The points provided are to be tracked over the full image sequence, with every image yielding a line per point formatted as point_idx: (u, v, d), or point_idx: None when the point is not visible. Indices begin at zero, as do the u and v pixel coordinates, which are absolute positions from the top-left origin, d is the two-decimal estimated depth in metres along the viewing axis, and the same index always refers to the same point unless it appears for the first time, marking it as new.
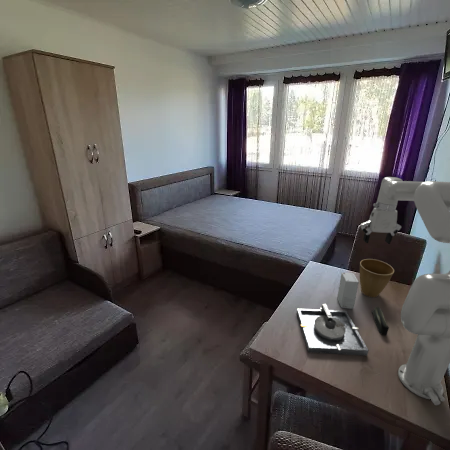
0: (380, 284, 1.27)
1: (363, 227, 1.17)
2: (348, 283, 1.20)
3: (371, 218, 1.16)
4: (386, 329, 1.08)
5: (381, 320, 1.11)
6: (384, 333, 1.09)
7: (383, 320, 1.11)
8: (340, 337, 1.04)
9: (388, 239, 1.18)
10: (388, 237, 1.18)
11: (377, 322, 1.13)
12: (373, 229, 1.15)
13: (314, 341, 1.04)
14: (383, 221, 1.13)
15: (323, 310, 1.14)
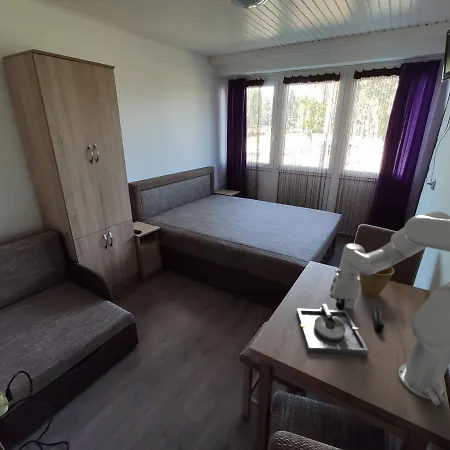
0: (380, 284, 1.27)
1: (333, 297, 1.12)
2: None
3: (333, 284, 1.10)
4: (381, 327, 1.09)
5: (377, 318, 1.12)
6: (379, 331, 1.10)
7: (379, 318, 1.12)
8: (340, 337, 1.04)
9: None
10: None
11: (374, 320, 1.14)
12: (335, 296, 1.09)
13: (314, 341, 1.04)
14: (345, 288, 1.08)
15: (323, 310, 1.14)
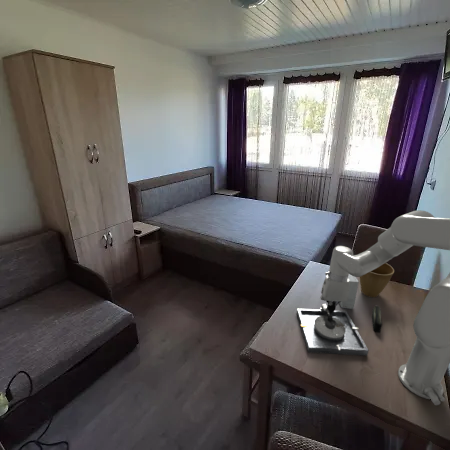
0: (380, 284, 1.27)
1: (324, 299, 1.13)
2: None
3: (323, 286, 1.11)
4: (379, 326, 1.09)
5: (376, 317, 1.12)
6: (377, 330, 1.10)
7: (378, 318, 1.12)
8: (340, 337, 1.04)
9: None
10: None
11: (373, 319, 1.15)
12: (325, 298, 1.11)
13: (314, 341, 1.04)
14: (335, 291, 1.09)
15: (323, 310, 1.14)
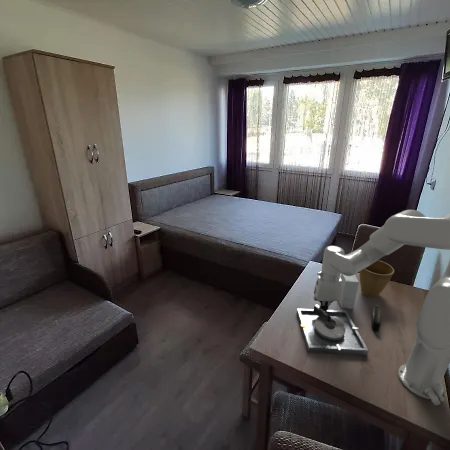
0: (380, 284, 1.27)
1: (317, 299, 1.13)
2: (348, 283, 1.20)
3: (316, 286, 1.11)
4: (377, 325, 1.10)
5: (375, 317, 1.13)
6: (375, 329, 1.11)
7: (377, 317, 1.13)
8: (344, 334, 1.05)
9: None
10: None
11: (372, 319, 1.15)
12: (318, 298, 1.11)
13: (314, 341, 1.04)
14: (328, 291, 1.09)
15: (318, 311, 1.14)
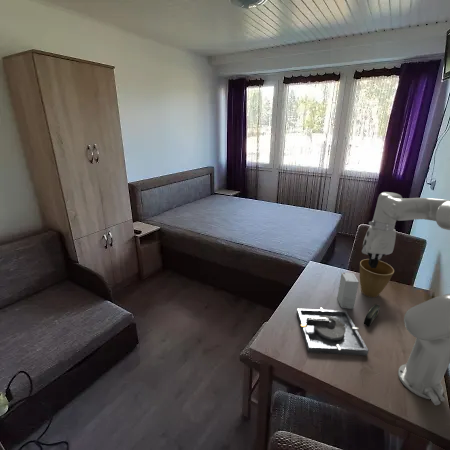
0: (380, 284, 1.27)
1: (366, 252, 1.05)
2: (348, 283, 1.20)
3: (366, 238, 1.03)
4: (368, 320, 1.13)
5: (369, 312, 1.15)
6: (366, 324, 1.14)
7: (371, 313, 1.15)
8: None
9: None
10: None
11: None
12: (369, 250, 1.02)
13: (314, 341, 1.04)
14: (380, 241, 1.01)
15: (314, 322, 1.08)
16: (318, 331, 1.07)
